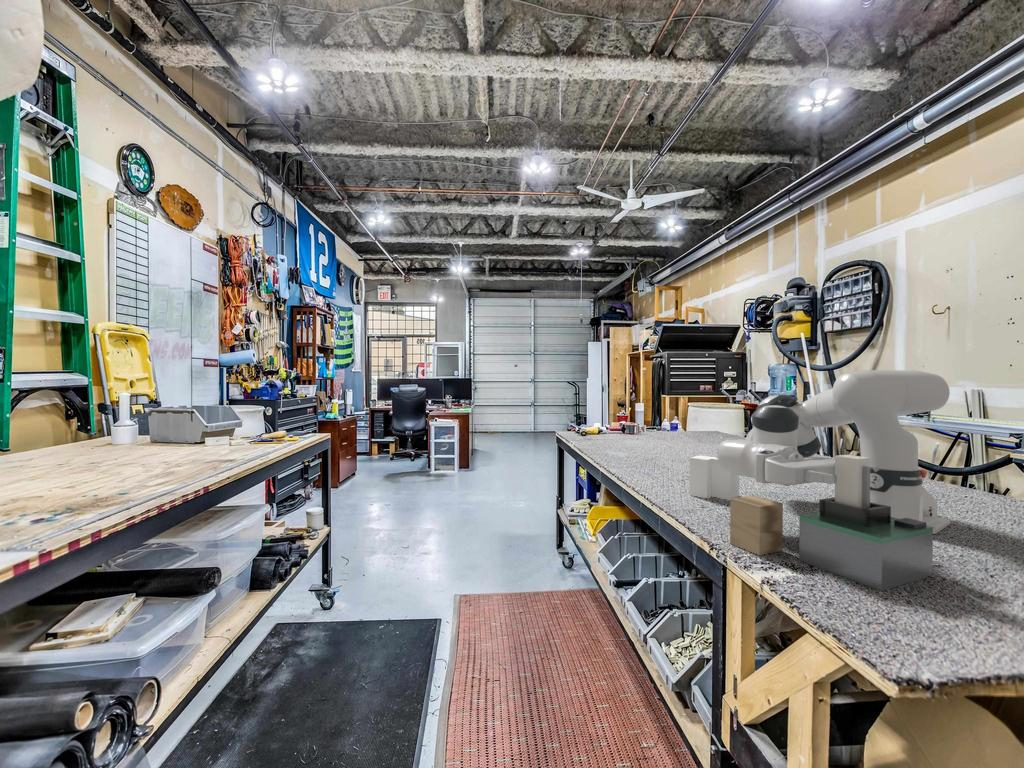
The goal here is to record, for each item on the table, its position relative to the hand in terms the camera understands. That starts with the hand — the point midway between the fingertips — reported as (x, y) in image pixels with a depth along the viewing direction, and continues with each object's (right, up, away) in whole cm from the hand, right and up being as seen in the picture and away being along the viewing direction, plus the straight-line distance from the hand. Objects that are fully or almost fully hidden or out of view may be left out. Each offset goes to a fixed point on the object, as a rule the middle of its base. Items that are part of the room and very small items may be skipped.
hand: (849, 477), depth 85 cm
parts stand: (-14, -17, +8) cm, 23 cm away
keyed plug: (0, -8, 0) cm, 8 cm away
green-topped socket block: (+1, -17, -2) cm, 17 cm away
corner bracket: (-3, -17, +51) cm, 54 cm away
